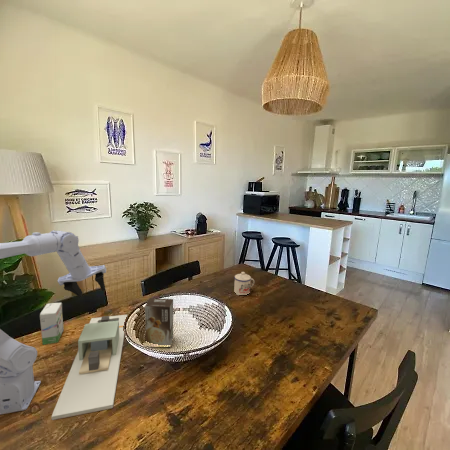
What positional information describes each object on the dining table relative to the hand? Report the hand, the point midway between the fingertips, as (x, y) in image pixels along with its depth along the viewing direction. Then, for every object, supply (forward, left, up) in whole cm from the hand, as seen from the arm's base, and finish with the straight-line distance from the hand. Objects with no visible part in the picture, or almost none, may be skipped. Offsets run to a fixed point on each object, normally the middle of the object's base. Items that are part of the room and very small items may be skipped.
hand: (92, 291), depth 90 cm
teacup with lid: (+29, -69, -20) cm, 77 cm away
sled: (-5, -3, -18) cm, 19 cm away
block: (-5, -3, -18) cm, 19 cm away
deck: (-7, -3, -20) cm, 21 cm away
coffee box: (-5, -23, -20) cm, 31 cm away
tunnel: (-5, -3, -20) cm, 20 cm away
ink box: (+7, +15, -20) cm, 26 cm away
